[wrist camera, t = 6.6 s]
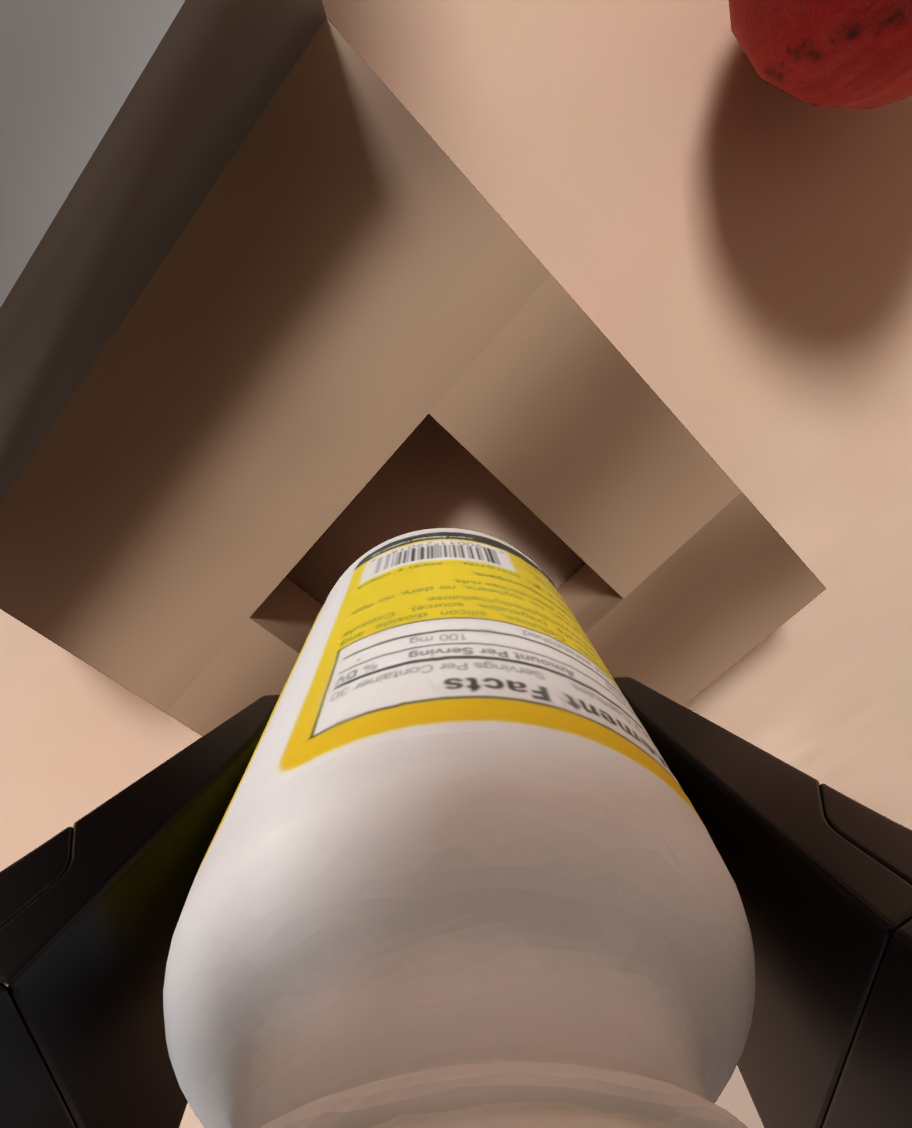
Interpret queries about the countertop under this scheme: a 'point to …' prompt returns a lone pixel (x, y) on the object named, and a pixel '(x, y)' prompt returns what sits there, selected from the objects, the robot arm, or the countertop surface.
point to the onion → (829, 48)
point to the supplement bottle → (457, 880)
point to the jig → (301, 362)
